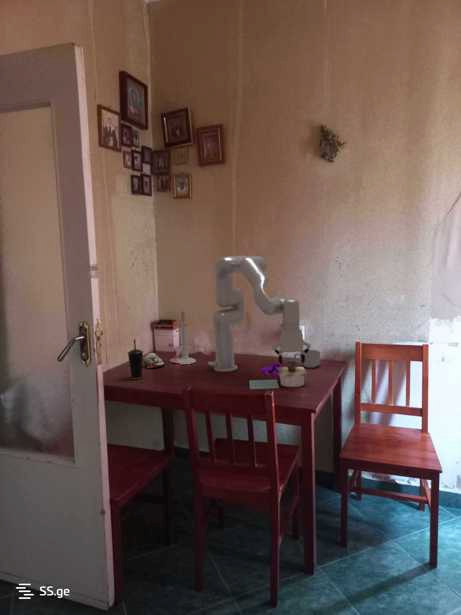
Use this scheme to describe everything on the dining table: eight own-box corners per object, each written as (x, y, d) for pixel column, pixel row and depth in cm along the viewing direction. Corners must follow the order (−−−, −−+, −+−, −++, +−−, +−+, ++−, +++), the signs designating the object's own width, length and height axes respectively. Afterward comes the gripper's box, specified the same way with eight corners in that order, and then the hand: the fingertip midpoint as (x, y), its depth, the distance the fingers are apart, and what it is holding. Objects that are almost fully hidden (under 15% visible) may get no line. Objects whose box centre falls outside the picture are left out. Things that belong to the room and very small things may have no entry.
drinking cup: (147, 376, 234) (145, 338, 232) (139, 381, 227) (137, 341, 225) (134, 376, 237) (131, 337, 234) (126, 380, 230) (123, 340, 227)
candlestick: (195, 365, 254) (193, 311, 250) (172, 366, 254) (169, 312, 250) (197, 359, 267) (195, 308, 263) (175, 360, 267) (172, 308, 263)
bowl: (281, 389, 207) (281, 376, 206) (279, 382, 217) (279, 369, 216) (305, 388, 206) (305, 375, 205) (302, 381, 217) (301, 369, 216)
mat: (249, 391, 206) (249, 388, 205) (249, 382, 218) (249, 380, 218) (279, 390, 205) (279, 388, 205) (276, 381, 218) (276, 379, 218)
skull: (166, 361, 262) (164, 350, 254) (164, 376, 255) (162, 366, 247) (145, 361, 262) (142, 350, 254) (142, 376, 255) (139, 366, 247)
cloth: (263, 368, 245) (262, 356, 244) (297, 370, 239) (297, 358, 238) (249, 380, 225) (249, 367, 224) (287, 382, 218) (286, 370, 217)
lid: (279, 376, 205) (279, 365, 204) (277, 369, 217) (277, 359, 216) (307, 375, 205) (306, 364, 204) (303, 368, 217) (303, 358, 216)
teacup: (319, 363, 248) (319, 349, 247) (321, 369, 237) (321, 353, 236) (293, 364, 249) (293, 349, 248) (294, 369, 238) (294, 354, 237)
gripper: (272, 328, 204) (273, 366, 207) (311, 327, 204) (312, 365, 206) (271, 325, 212) (272, 362, 214) (309, 324, 211) (309, 360, 214)
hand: (291, 363), depth 210 cm, fingers open, 9 cm apart
